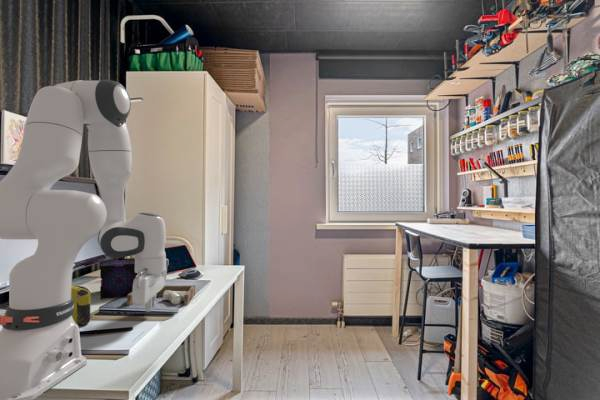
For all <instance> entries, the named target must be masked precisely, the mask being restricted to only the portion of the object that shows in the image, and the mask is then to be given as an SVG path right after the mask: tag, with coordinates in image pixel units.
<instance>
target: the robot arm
mask: <svg viewBox="0 0 600 400" xmlns="http://www.w3.org/2000/svg"><path fill="white" fill-rule="evenodd" d="M131 103H132V102H131V97H130V95H129V92H128V91H127V89H126V88H125V86H123V84H121V83H120V82H119V81H115V80H111V79H101V80H82V79H81V80H72V81H65V82H61V83H60V82H56V83H52V84H50V85H47V86H44V87H41V88H40V89H39V90H37V92H36V93H35V95H34V98H33V100H32V102H31V104H30V106H29V107H30V108H29V110H28V113H27V117H26V120H25V124H24V131H23V135H22V140H21V144H20V149H19V152H18V156H17V157H16V161H15V162H14V164H13V165H12V167H11V169H10V170H9V171H8V172H7V174H6V175H5V177H3V178H2V179H1V180H0V239H1V240H37V246H36V250H35V252H34V253H33V255H30V256H28V257H26V258H24V259H22V260H20V261H19V262H17V263H16V264H15V265H13V267H12V268H11V270H10V272H9V276H8V277H9V278H8V282H9V283H8V287H9V288H8V289H9V290H8V292H9V295H8V296H9V297H8V298H9V299H8V304H9V305H7V307H6V310H5V313H4V314H3V315H2V314H0V326H1V327H2V328H1V330H0V400H35V399H36V398H38V397H39V396H40V395H41V394H43V393H45V392H47V391H48V390H49V389H51V388H52V387H54V386H56V385H57V384H59V383H60V382H61V381H63V380H64V379H66V378H68V377H69V376H70V375H72V374H74V372H76V371H77V370H79V369H80V368H82V367H84V366H85V365H87V363H88V361H87V357H86V356H84V355H83V354H82V348H81V347H82V346H81V336H80V335H81V334H80V328H79V324H78V323H76V322H75V321H74V320H73V317H72V315H73V313H74V301H73V297H71V286H72V285H73V284H72V282H73V281H72V280H73V271H74V266H75V265H74V264H75V261H76V258H77V256H78V255H79V252H80V251H81V249H82V248H83V247H84V245H86V243H87V242H88V241H90V240H91V239H92V238H93V237H95V236H96V235H97V234H98V235H97V241H98V242H97V243H98V245H99V246H100V249H101V251H102V252H103V254H105V256H107V257H109V258H112V259H124V258H127V257H131V256H134V258H135V273H137V276H136V278H135V279H134V282H133V290H132V303H133V304H132V305H134V306H135V305H136V306H139V305H140V306H141V305H142V306H144V308H145V312H152V311H153V310H154V309H155V306H156V304H155V303H156V300H157V296H156V294H157V293H158V292H159V291H160V290H161V289H162V288H163V287H165V286H166V282H167V274H168V273H167V272H168V266H169V264H170V263H169V259H168V258H167V254H166V251H165V250H166V249H165V246H166V243H167V229H166V223H165V219H164V218H163V217H162V216H161V215H159V214H154V213H150V212H138V213H137V214H136V215H135V216H133V217H131V218H129V219H127V218H126V208H125V207H126V206H125V205H126V204H125V191H126V186H127V183H128V182H129V179H130V177H131V174H132V167H133V153H132V144H131V138H130V134H129V129H128V126H127V123H126V121H127V118H128V117H129V114H130V111H131V105H132V104H131ZM84 125H85V126H86V128H87V129H88V133H87V148H88V149H87V151H88V158H89V159H88V160H89V164H90V167H91V168H90V169H91V172H92V175H93V178H94V180H95V182H96V184H97V187H98V188H99V192H100V196H99V195H97V194H95V193H90V192H85V191H79V190H72V189H52V187H53V186H54V185H55V184H56V183H57V182H58V181H59V180H61V179H63V178H64V177H67V176H69V175H72V174H73V173H74V172H75V171H76V170H77V169H78V166H79V165H80V157H81V156H80V155H81V151H82V142H83V134H84ZM100 197H101V198H100Z"/></svg>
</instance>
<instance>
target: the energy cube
mask: <svg viewBox="0 0 600 400" xmlns="http://www.w3.org/2000/svg"><path fill="white" fill-rule="evenodd" d="M137 276H138V273H135V257H129V258H127V257H125V258H122V259H121V260H120V259H119V260H118V259H117V260H116V259H115V258H112V259H102V260H101V261H100V277H99V278H100V292H99V296H100V300H107V299H114V298H116V297H120V296H121V297H125V298H127V295H128V294H130V293H131V292H132V290H133V282H134V279H135V278H136V277H137Z"/></svg>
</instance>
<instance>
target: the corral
mask: <svg viewBox="0 0 600 400" xmlns="http://www.w3.org/2000/svg"><path fill="white" fill-rule="evenodd" d="M165 290H170V291H187V293H186V294H185V301H184V303H183V304H184V306H188V305H189V304H190V302H191V301H192V300H193V298H194V297H195V296H196V285H165V287H163V288H162V289H161V290H160V291H159V292H158V293H157V294H156V297H160V296H161V297H163V294H164V292H165ZM126 300H127V301H126V306H128V307H129V306H132V305H134V304H133V303H132V292H131V293H130V294H128V295H127V297H126Z"/></svg>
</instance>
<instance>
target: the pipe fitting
mask: <svg viewBox="0 0 600 400" xmlns="http://www.w3.org/2000/svg"><path fill="white" fill-rule="evenodd" d="M186 293H187V291H170V290H165V292H164V294H163V296H162V299H163V301H169V302H170V303H172V305H174V306H176V305H180V304H181V302H185V294H186Z"/></svg>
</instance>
